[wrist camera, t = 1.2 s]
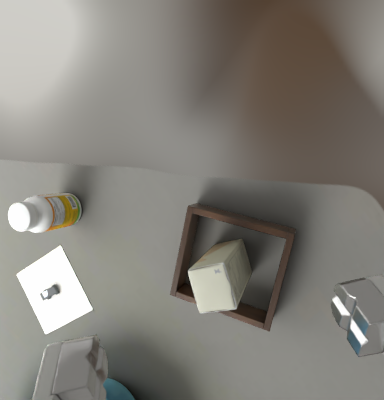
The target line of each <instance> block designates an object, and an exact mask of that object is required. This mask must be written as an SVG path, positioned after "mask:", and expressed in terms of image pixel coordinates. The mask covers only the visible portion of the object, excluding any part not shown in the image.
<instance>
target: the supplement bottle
mask: <svg viewBox="0 0 384 400" xmlns="http://www.w3.org/2000/svg"><path fill="white" fill-rule="evenodd" d="M81 213H82V208H81V204H80V202H79V200H78V198H77V197H76V196H74V195H73V194H70V193H59V194H49V195H38V196H31V197H29V198H27V199H26V200H25V201H24V202H17V203H14V204H13V205H12V206H11V207H10V209H9V212H8V219H9V222H10V224H11V226H12V227H13V228H14V229H15V230H17V231H27V230H29V231H31V232H34V233H40V232H45V231H50V230H54V229H58V228H62V227H67V226H71V225H74V224H75V223H77V222H78V220H79V219H80V217H81Z"/></svg>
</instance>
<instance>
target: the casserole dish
mask: <svg viewBox="0 0 384 400" xmlns="http://www.w3.org/2000/svg"><path fill="white" fill-rule="evenodd" d="M103 386H104V388H105V390H106V392H107V393H106V400H135V399H134V397H133V396H132V394H131V393H130V392H129V391H128V389H127V388H126V387H125V386H124V385H122V384H121V383H119V382H118V381H115V380H113V379H109V378H107V379H106V380H105V382H104V384H103Z"/></svg>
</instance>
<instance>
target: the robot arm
mask: <svg viewBox="0 0 384 400" xmlns="http://www.w3.org/2000/svg"><path fill="white" fill-rule="evenodd" d="M334 292H335V293H336V296H335V297H334V298H333V299H332V303H331V308H332V313H333V316H334V318H335V320H336V322H337V323H338V325H339V327H341V328H343V329H344V330H346V331H347V340H348V341H349V343H350V344H351V346H352V348H353V349H354V351H355V352H356V354H357V356H358V357H362V356H367V355H373V354H378V353H383V352H384V277H383V276H382V275H375V276H371V277H366V278H360V279H355V280H351V281H346V282H342V283H338V284H336V285H335V288H334ZM99 344H100V340H99V338H98V336H97V335H92V336H87V337H81V338H76V339H71V340H66V341H60V342H56V343H51V344H48V345H47V347H46V349H45V351H44V355H43V359H42V363H41V366H40V370H39V374H38V378H37V382H36V386H35V390H34V394H33V398H32V399H31V400H106V393H107V392H106V390H105V388H104V386H103V384H104V382H105V380H106V379H107V377H108V360H107V355H106V352H105V349H104V348H103V347H101V346H99Z"/></svg>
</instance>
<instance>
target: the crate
mask: <svg viewBox="0 0 384 400" xmlns="http://www.w3.org/2000/svg"><path fill="white" fill-rule="evenodd" d="M199 215H201V216H205V217H208V218H212V219H216V220H219V221H223V222H227V223H231V224H234V225H238V226H242V227H245V228H249V229H253V230H256V231H260V232H264V233H267V234H271V235H275V236H278V237H282V238H286V242H285V246H284V250H283V254H282V258H281V261H280V265H279V269H278V273H277V277H276V281H275V285H274V288H273V292H272V296H271V300H270V304H269V308H268V312H267V311H264V310H261V309H258V308H255V307H253V306H250V305H247V304H244V303H241V302H239V304H238V306H237V309H235V310H228V311H219V312H218V313H221V314H224V315H226V316H229V317H232V318H234V319H237V320H240V321H243V322H245V323H248V324H251V325H253V326H256V327H259V328H262V329H264V330H267V331H270V328H271V324H272V320H273V316H274V313H275V309H276V305H277V301H278V297H279V294H280V290H281V286H282V282H283V278H284V275H285V271H286V267H287V263H288V259H289V256H290V252H291V248H292V244H293V240H294V237H295V231H296V229H294V228H289V227H286V226H282V225H278V224H274V223H271V222H267V221H263V220H259V219H255V218H251V217H247V216H244V215H240V214H236V213H232V212H228V211H224V210H221V209H217V208H213V207H209V206H205V205H201V204H197V203H196V204H193V205H189V206H188V209H187V213H186V218H185V223H184V228H183V233H182V238H181V243H180V248H179V253H178V258H177V263H176V268H175V273H174V278H173V283H172V288H171V293H170V295H172V296H175V297H177V298H180V299H183V300H186V301H188V302H191V303H194V304H196V305H197V303H196V300H195V296H194V293H193V290H192V286H191V285H190V284H187V283H185V282H186V277H187V272H188V267H189V262H190V258H191V253H192V248H193V243H194V239H195V234H196V229H197V224H198V220H199Z"/></svg>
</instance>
